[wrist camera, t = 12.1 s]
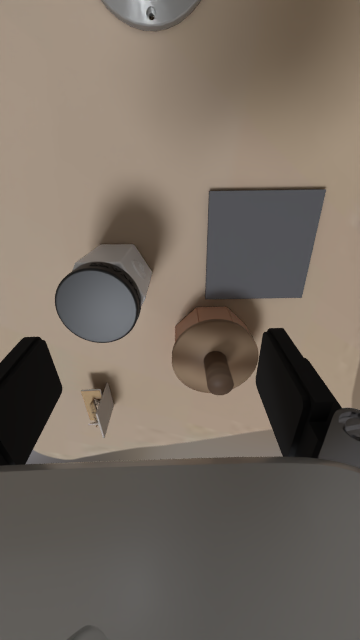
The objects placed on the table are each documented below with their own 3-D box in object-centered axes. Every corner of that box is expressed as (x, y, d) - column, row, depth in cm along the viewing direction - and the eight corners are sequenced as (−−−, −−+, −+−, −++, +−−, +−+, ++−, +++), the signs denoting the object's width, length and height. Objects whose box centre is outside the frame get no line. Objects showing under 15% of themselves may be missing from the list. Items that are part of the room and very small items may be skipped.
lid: (170, 320, 33) (169, 345, 28) (261, 317, 33) (277, 342, 28) (173, 389, 39) (173, 421, 34) (251, 387, 39) (263, 418, 34)
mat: (209, 191, 31) (209, 191, 30) (323, 189, 31) (326, 189, 30) (205, 297, 37) (205, 299, 37) (299, 296, 37) (301, 297, 37)
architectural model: (96, 405, 48) (83, 439, 41) (88, 376, 44) (72, 409, 38) (114, 404, 48) (104, 438, 41) (107, 375, 44) (95, 408, 38)
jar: (162, 284, 36) (156, 324, 26) (116, 310, 38) (93, 358, 27) (125, 227, 33) (101, 246, 22) (76, 259, 34) (32, 291, 24)
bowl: (175, 307, 38) (174, 323, 34) (248, 306, 38) (257, 321, 34) (176, 366, 43) (176, 386, 39) (240, 365, 43) (248, 385, 39)
